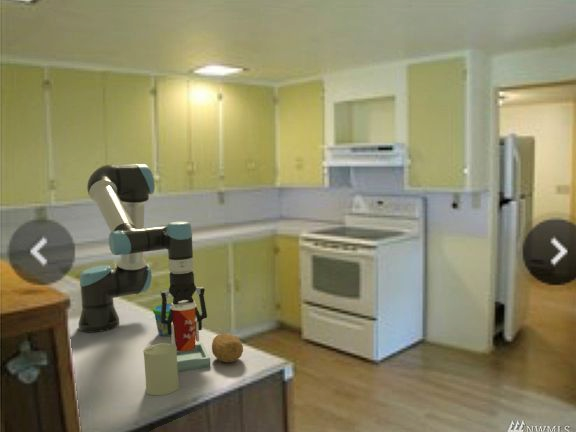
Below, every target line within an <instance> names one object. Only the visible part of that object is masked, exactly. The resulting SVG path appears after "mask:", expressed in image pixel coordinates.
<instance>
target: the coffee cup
mask: <svg viewBox="0 0 576 432" xmlns="http://www.w3.org/2000/svg"><path fill="white" fill-rule="evenodd" d="M193 301H194V302H191V303H190V302H189V300H183V301H179V302H178V304H173V303H172V302H170V303H171V307H170V309H172V312H173V324H174V336H175V346H176V347H177V351H182V352H184V351H190V350H193V349H194V348H195V344H196V336H195V322H196V319H197V317H196V314H195V307H197V304H196V301H195V300H194V299H193Z"/></svg>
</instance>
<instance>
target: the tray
mask: <svg viewBox="0 0 576 432" xmlns="http://www.w3.org/2000/svg"><path fill="white" fill-rule="evenodd" d="M209 367H211V357H210V355H209V353H208V351H207V348H206V346H205V345H204V343H203V342H201V343H195V348H194V349H193V350H190V351H184V352H182V351H177V371H178V373H179V372H184V371H191V370H197V369H202V368H209Z"/></svg>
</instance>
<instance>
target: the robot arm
mask: <svg viewBox="0 0 576 432" xmlns="http://www.w3.org/2000/svg"><path fill="white" fill-rule="evenodd" d="M155 186H156V185H155V178H154V175H153V171H152V170H151V168H150V166H148V165H146V164H143V163H141V164H140V163H139V164H138V163H127V164H105V165H103V166H100V167H98V168H97V169H96V170H94V171H93V172H92V174H91V175H90V177H89V178H88V181H87V187H86V188H87V194H88V195H89V197H90V199H91V200H92V201H93V202H94V203H96V204H97V205H96V206H97V207H98V209H99V211H100V213H101V215H102V217H103V219H104V221H105V223H106V225H107V227H108V229H109V231H110V233H109V234H108V246H109V250H110V252H111V253H112V254H113V255H115V256H120V258H119V260H117V262H116V267H113V268H112V267H111V265H108V264H105V265H96V266H93V267H90V268H87V269H85V270H83V271H82V272H81V273H80V274H79V286H80V296H81V306H82V307H81V313H80V315H79V316H80V317H79V320H78V330H79V331H80V332H84V333H85V332H86V333H98V332H99V333H100V332H104V331H109V330H112V329H114V328H117V327H118V326H119V325H120V316H119V314H118V312H117V311H116V307H115V303H114V299H115V298H121V297H125V296H132V295H139V294H142V293H146V292H147V291H148V290H149V289H150V287H151V286H152V279H153V277H152V276H153V275H152V268H151V266H150V265H149V263H147V261H146V260H145V259H144V253H145V252H153V251H154V252H155V251H161V250H167V251H168V252H167V253H168V254H167V255H168V256H167V257H168V270H169V272H170V273H169V287H168V289H167V290H161V291H160V296H161V304H162V308H161V322H162V324H167V332H168V334H171V338H170V339H171V344H174V345H175V346H176V344H175V336H174V324H173V322H172V320H173V312H172V309H170V312H169V315H168V318H167V319H166V304H167V300H168V297H169V295H171V296H172V297H173V299H172V302H171V303H173V304H178V302H179V301H183V300H189V302H190V303H191V302H194V301H195V300H194V299H193V296H194V295H195V293H197V295H198V297H199V298H198V299H199V304H200V309H201V313H200V312H199V310H198V307H197V306H196V307H195V314H196V322H195V342H200V335H199V334H200V331H202V330H203V326H202V325H203V323H202V321H203V320H204V319H207V318H208V314H207V313H208V312H207V308H206V307H207V306H206V301H205V297H204V296H205V290H206V289H205V288H204V287H203V286H200V287H199V286H196V284H195V272H194V269H195V268H194V255H193V231H192V225H191V223H190V222H188V221H174V222H173V221H172V222H169V223H168V224H161V225H158V226H155V227H145V204H146V203H147V202H148V201H149V197H150V195H152V194H154V192H155ZM193 300H194V301H193Z"/></svg>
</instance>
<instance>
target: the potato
mask: <svg viewBox="0 0 576 432" xmlns="http://www.w3.org/2000/svg"><path fill="white" fill-rule="evenodd" d="M243 346H244V345H243V344H242V342H241V340H240V338H239V337H237V336H236V335H233V334H230V333H224V332H223V333H219V334H217V335H215V337H214V338H213V339H212V343H211V351H212V353H213V356H214V357H215V358H216V359H217V360H218V361H221V362H224V363H233V362H236V361H237V360H239V359H240V358H241V357H242V355H243V352H244V347H243Z"/></svg>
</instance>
